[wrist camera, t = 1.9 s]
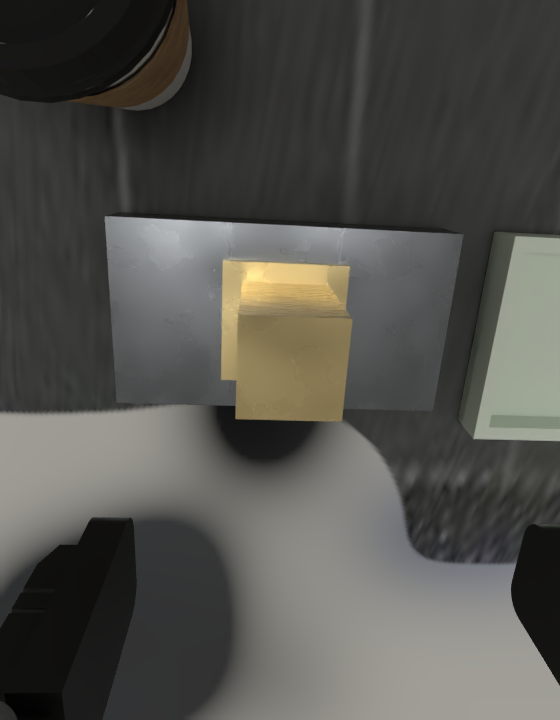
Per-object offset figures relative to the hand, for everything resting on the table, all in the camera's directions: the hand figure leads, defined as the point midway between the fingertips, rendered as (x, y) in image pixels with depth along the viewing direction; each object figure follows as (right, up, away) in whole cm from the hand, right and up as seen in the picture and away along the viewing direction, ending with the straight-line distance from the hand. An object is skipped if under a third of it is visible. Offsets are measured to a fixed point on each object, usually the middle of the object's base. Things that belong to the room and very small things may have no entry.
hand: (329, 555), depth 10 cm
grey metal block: (-1, +7, +19) cm, 21 cm away
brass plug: (-1, +7, +19) cm, 21 cm away
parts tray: (+17, +5, +21) cm, 27 cm away
